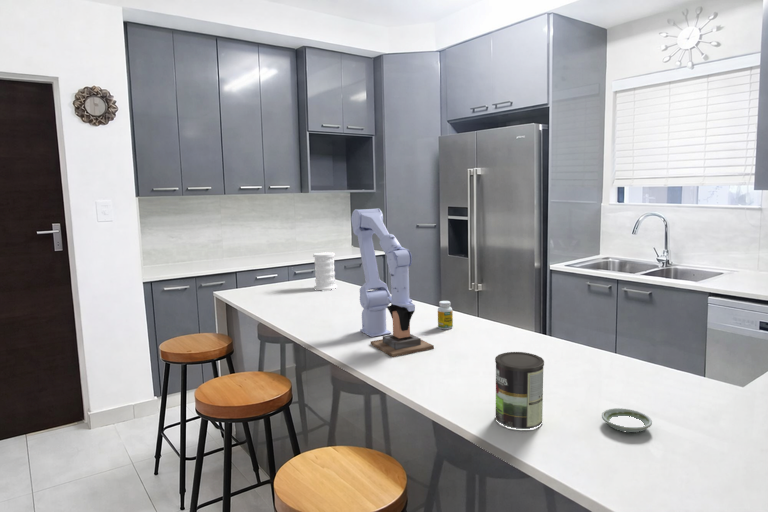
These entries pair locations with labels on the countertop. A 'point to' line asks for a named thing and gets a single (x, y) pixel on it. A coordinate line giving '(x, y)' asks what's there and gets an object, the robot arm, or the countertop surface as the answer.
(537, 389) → the coffee can
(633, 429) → the grey-green ring
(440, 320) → the supplement bottle
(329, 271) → the decorative container
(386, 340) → the peg holder
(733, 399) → the countertop surface
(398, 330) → the peg
